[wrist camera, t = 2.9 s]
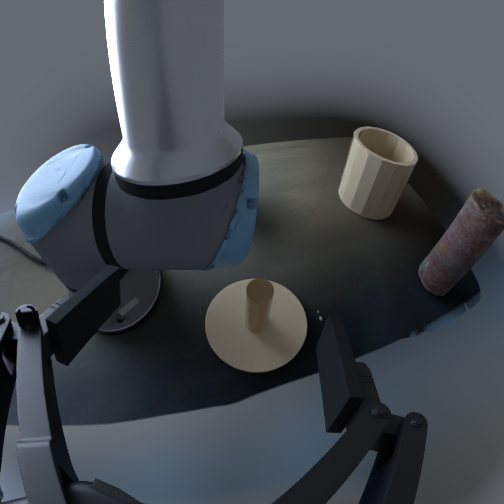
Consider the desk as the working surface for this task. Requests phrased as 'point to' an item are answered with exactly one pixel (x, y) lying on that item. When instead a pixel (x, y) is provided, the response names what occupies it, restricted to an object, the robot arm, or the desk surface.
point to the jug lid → (256, 325)
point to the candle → (463, 242)
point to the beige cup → (376, 172)
